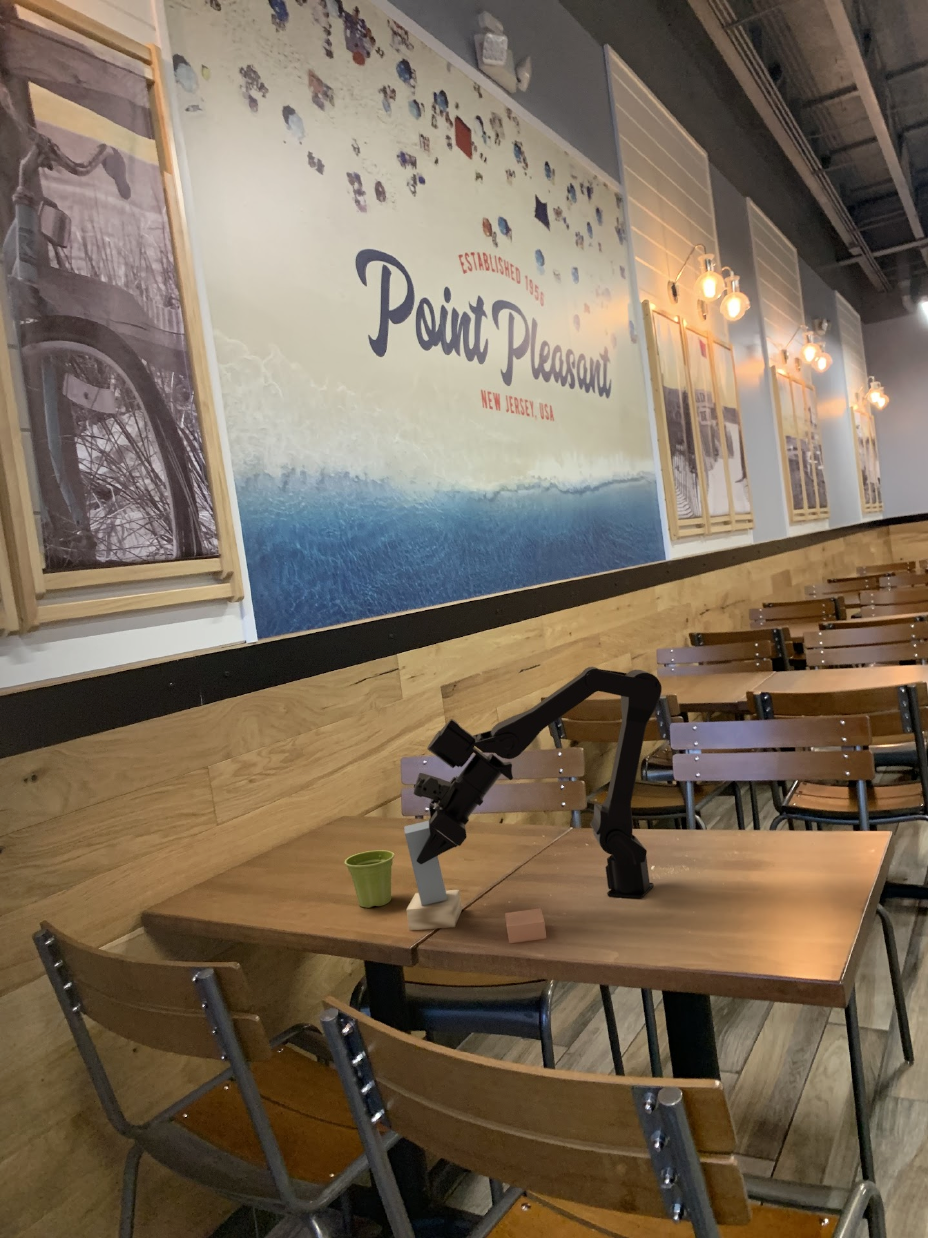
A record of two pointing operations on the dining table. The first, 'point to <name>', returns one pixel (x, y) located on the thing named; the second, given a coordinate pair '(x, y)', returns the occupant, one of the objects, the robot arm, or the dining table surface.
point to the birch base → (434, 912)
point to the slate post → (425, 865)
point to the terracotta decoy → (525, 925)
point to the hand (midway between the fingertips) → (419, 854)
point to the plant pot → (371, 876)
